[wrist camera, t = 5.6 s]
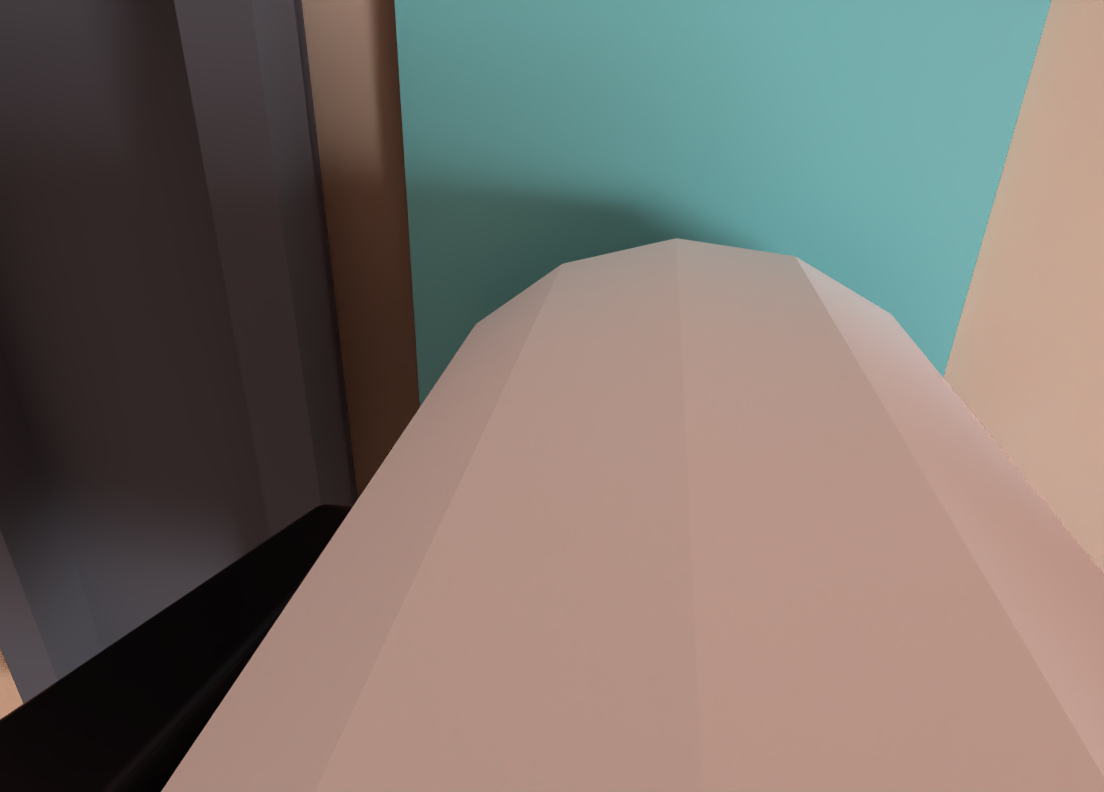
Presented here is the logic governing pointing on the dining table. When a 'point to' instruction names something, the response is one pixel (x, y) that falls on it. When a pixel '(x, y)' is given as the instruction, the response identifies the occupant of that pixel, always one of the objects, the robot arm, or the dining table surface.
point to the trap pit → (155, 312)
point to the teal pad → (705, 143)
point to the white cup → (681, 566)
